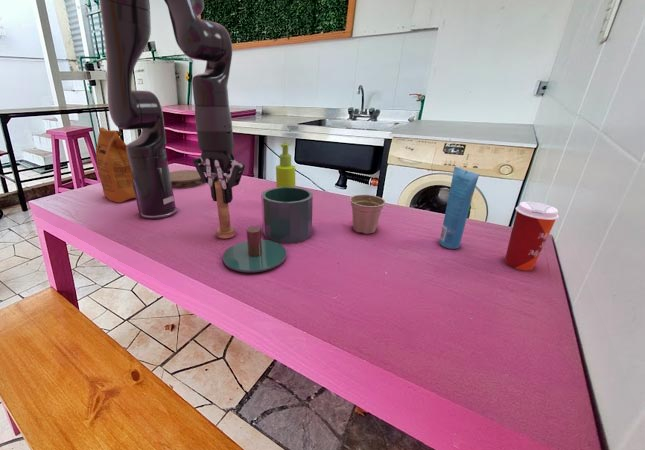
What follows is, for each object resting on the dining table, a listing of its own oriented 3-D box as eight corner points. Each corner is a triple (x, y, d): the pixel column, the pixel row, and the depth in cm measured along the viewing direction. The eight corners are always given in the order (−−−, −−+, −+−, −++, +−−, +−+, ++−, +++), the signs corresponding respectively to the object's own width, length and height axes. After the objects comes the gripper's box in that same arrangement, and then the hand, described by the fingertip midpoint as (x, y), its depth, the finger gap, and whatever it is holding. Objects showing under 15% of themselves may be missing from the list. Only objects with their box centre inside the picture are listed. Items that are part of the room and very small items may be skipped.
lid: (209, 265, 64) (205, 235, 61) (248, 239, 76) (246, 213, 73) (264, 281, 59) (262, 250, 56) (297, 251, 71) (296, 223, 68)
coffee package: (132, 189, 108) (116, 125, 99) (148, 197, 101) (133, 129, 92) (100, 196, 101) (80, 127, 92) (115, 205, 94) (95, 132, 85)
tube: (467, 249, 74) (487, 173, 66) (453, 253, 72) (472, 175, 64) (444, 237, 80) (460, 165, 72) (431, 240, 78) (445, 167, 71)
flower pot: (388, 229, 83) (392, 200, 80) (368, 240, 77) (372, 209, 74) (361, 220, 89) (363, 192, 86) (340, 229, 83) (342, 199, 79)
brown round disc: (176, 176, 126) (175, 169, 125) (212, 178, 124) (211, 171, 123) (152, 187, 111) (151, 179, 110) (193, 189, 110) (192, 181, 109)
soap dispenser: (297, 203, 101) (297, 142, 93) (293, 210, 95) (293, 145, 86) (280, 201, 101) (278, 141, 93) (275, 209, 95) (273, 144, 87)
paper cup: (539, 277, 64) (562, 216, 58) (498, 266, 67) (516, 208, 62) (538, 261, 70) (559, 205, 64) (500, 252, 74) (517, 198, 68)
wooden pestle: (213, 236, 76) (206, 182, 70) (224, 229, 80) (219, 178, 74) (227, 240, 74) (221, 185, 69) (238, 233, 78) (233, 180, 72)
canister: (253, 236, 77) (251, 197, 73) (279, 219, 88) (278, 184, 83) (298, 247, 72) (298, 206, 68) (319, 227, 83) (320, 191, 79)
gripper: (177, 126, 65) (188, 201, 72) (229, 132, 61) (236, 211, 68) (202, 123, 72) (210, 193, 79) (251, 128, 67) (255, 201, 74)
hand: (222, 201), depth 73 cm, fingers closed on wooden pestle, 2 cm apart
